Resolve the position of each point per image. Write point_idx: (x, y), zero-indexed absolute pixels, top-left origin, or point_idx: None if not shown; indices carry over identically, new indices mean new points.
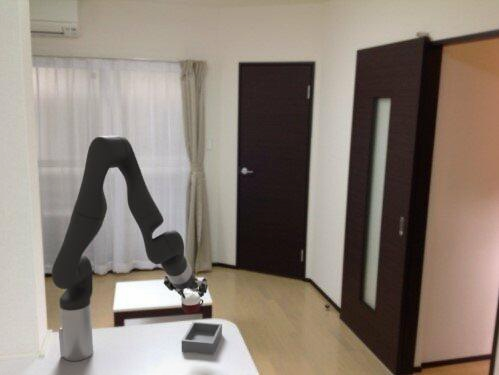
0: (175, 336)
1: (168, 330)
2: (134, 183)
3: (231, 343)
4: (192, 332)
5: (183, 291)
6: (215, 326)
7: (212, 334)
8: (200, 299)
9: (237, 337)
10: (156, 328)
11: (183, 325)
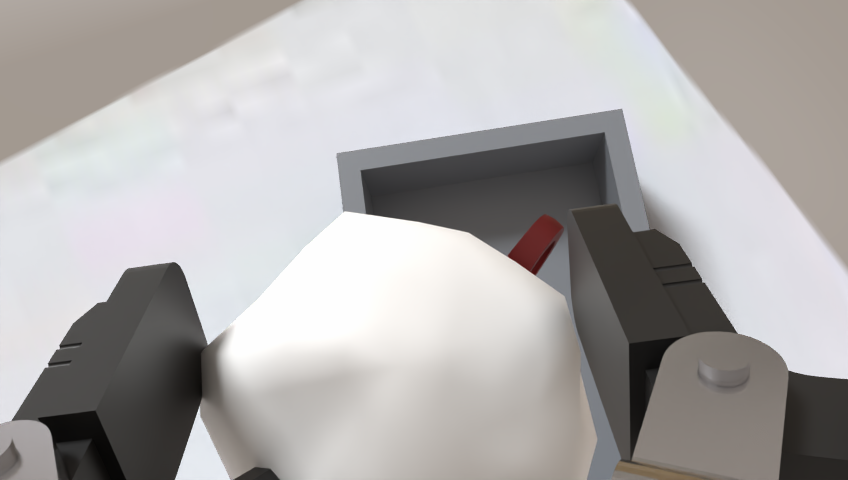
0: (238, 304)
1: (142, 231)
2: None
3: (745, 257)
4: None
5: (185, 291)
6: (565, 145)
7: (547, 206)
8: (525, 244)
9: (748, 150)
10: (31, 234)
11: (232, 116)
